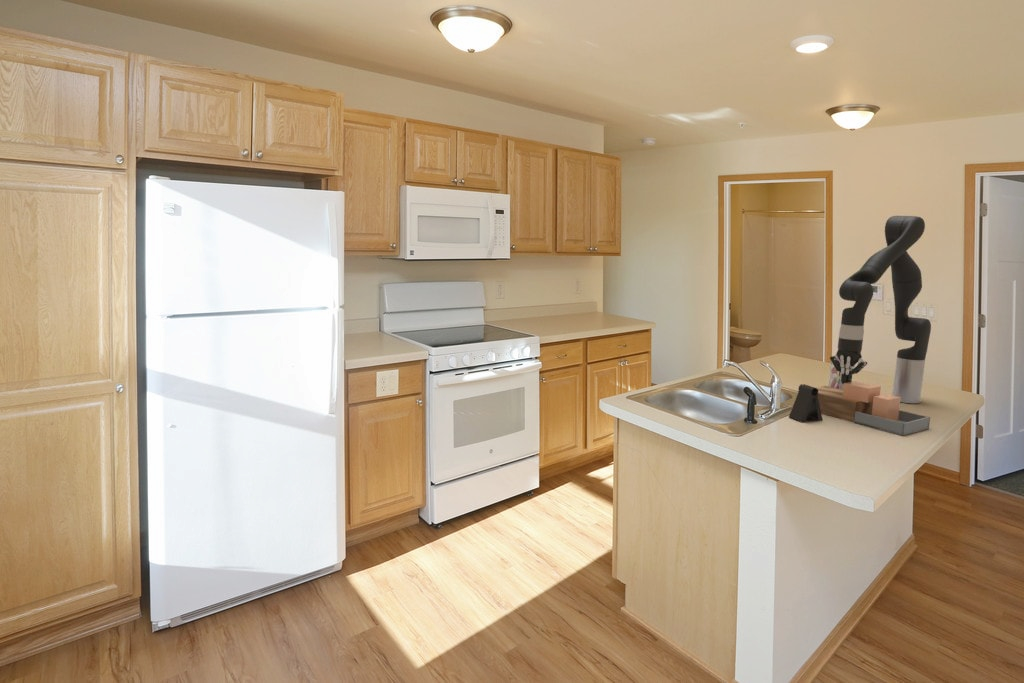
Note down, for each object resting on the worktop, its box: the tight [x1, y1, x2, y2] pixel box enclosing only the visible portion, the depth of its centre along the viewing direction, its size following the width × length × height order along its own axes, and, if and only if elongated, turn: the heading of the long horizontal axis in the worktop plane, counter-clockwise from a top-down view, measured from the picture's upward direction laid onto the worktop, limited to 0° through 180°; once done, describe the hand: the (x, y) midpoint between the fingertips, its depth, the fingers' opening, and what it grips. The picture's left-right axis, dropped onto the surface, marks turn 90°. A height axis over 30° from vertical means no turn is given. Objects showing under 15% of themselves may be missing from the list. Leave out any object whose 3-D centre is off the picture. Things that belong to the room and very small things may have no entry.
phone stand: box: [788, 383, 823, 423], centre depth 203 cm, size 9×6×12 cm, turn 104°
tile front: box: [872, 394, 901, 422], centre depth 198 cm, size 7×9×5 cm
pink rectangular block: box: [842, 380, 882, 403], centre depth 205 cm, size 7×9×5 cm
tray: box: [853, 409, 931, 437], centre depth 197 cm, size 16×16×4 cm
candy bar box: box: [828, 360, 853, 390], centre depth 230 cm, size 11×5×16 cm, turn 168°
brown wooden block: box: [815, 385, 873, 423], centre depth 213 cm, size 14×20×7 cm
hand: (845, 384), depth 210 cm, fingers closed
